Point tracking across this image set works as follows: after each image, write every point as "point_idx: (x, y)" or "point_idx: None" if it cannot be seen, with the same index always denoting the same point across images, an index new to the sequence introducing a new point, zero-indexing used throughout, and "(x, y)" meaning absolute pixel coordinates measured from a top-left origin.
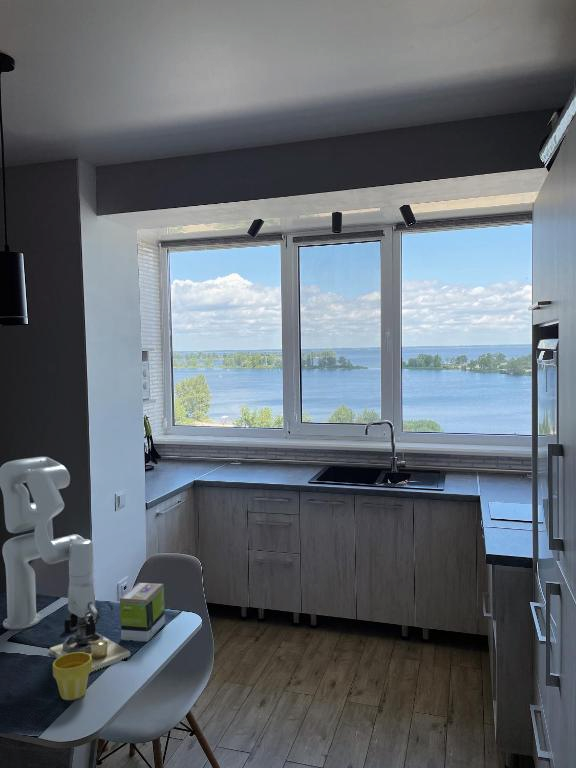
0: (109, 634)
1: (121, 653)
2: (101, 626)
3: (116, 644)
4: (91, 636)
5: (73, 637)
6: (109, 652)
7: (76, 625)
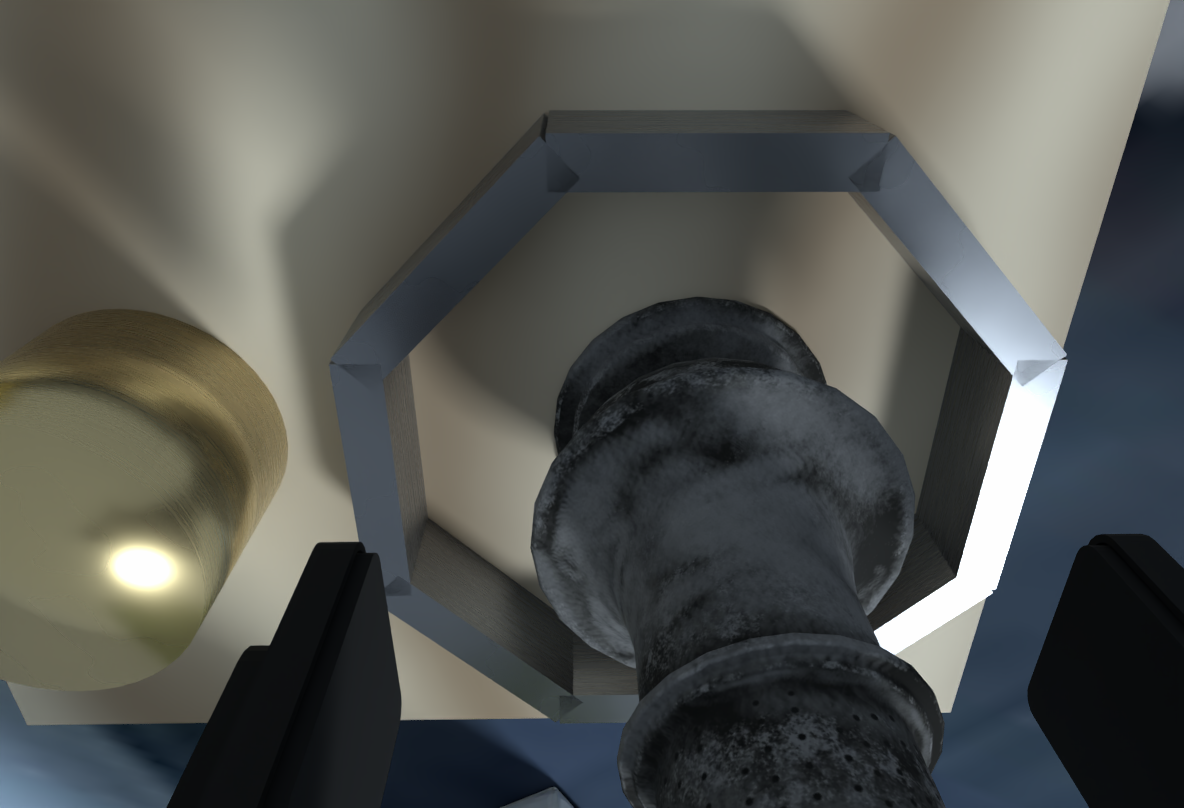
0: None
1: None
2: (1062, 797)
3: None
4: None
5: (777, 375)
6: None
7: (1053, 637)
